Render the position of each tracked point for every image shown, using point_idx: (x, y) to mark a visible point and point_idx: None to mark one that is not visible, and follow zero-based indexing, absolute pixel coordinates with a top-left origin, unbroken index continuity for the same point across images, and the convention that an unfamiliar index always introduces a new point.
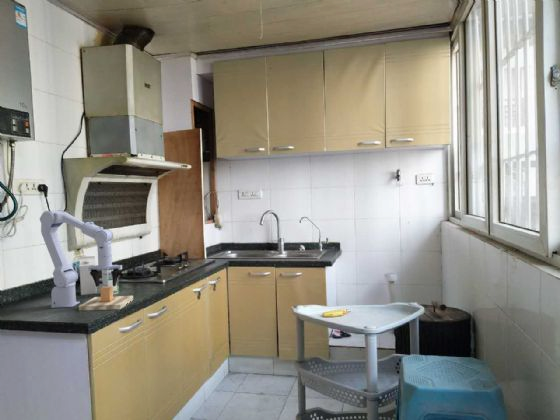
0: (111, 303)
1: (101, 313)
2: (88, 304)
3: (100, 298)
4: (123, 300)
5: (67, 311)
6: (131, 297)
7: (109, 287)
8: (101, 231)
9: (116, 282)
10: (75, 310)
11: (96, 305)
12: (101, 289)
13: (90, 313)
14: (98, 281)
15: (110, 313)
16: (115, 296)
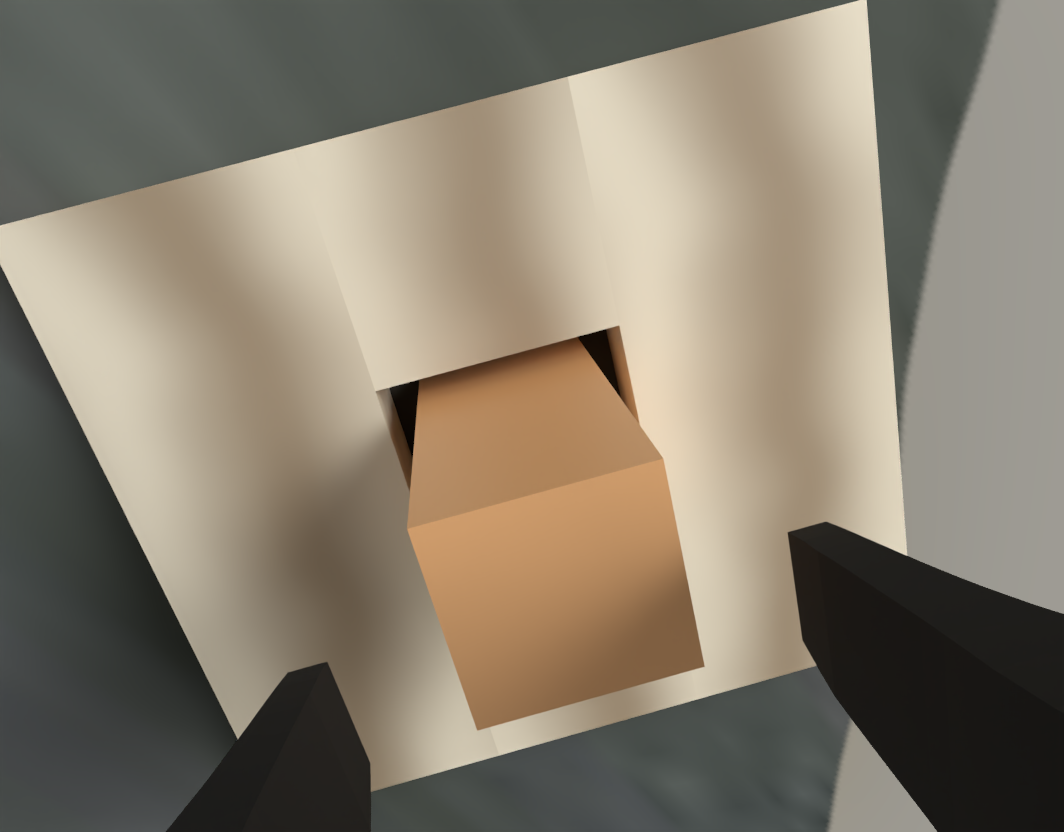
0: (732, 607)
1: (715, 785)
2: (365, 720)
3: (249, 334)
4: (848, 413)
5: (139, 814)
6: (863, 101)
7: (644, 582)
8: None
9: (880, 545)
10: (220, 758)
11: (551, 738)
12: (505, 709)
13: (565, 813)
14: (311, 801)
15: (833, 763)
16: (482, 124)
